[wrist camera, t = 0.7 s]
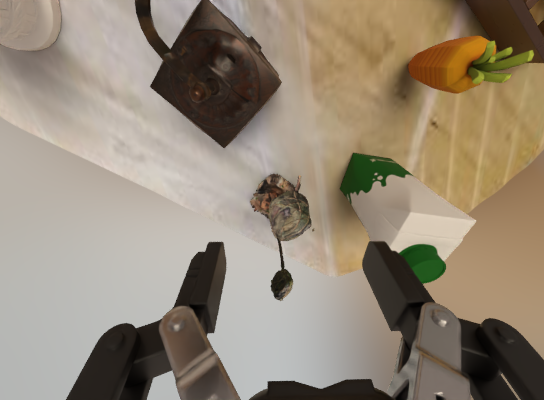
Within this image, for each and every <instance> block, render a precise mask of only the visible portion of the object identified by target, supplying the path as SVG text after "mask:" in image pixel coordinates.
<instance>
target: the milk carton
mask: <svg viewBox="0 0 544 400" xmlns="http://www.w3.org/2000/svg"><path fill="white" fill-rule="evenodd" d="M340 190H341V191H342V192H343V194H344V195H345V196H346V198H347V199H348V200H349V202H350V204H351V205H352V207H353V209H354V210H355V212H356V214H357V215H358V217H359V219H360V221H361V222H362V224H363V226H364V227H365V229H366V231H367V233H368V235H369V238H370V240H371V241H385V242H386V243H387V244H388V246H389V247H390V249H391V250H392V251H396V252H398V253H399V254H400V255H401V256H403V257H404V258H405V260H406V261H407V263H408V264H409V266H410V268H412V270H413V271H414V273H415V275H416V276H417V277H418V278H419V280H420V281H421V283H422V284H424V283H428V282H431V281H434V280H436V279H437V278H439V277H440V276H441V275H442V274H443V273H444V272H445V270H446V264H445V263H444V261H445V260H446V258H447V257H448V256H449V255H450V254H451V253H452V252H453V250H454V249H455V248H456V247H457V246H459V244H460V243H461V242H462V240H463V239H462V238H463V237H464V236H465V234H466V233H467V232H468V231H469V230H470V228H471V227H472V226H473V225H474V224H475V222H476V220H474V219H473V218H471V217H470V216H468V215H467V214H465V213H464V212H462V211H461V210H459V209H458V208H456V207H455V206H453V205H452V204H450V203H449V202H448V201H446V200H445V199H443V198H442V197H440V196H439V195H437V194H436V193H435V192H433V191H432V190H431V189H430V188H428V187H427V186H426V185H424V184H423V183H422V182H421V181H419V180H418V179H417V178H416V177H414V176H413V175H412V174H410V173H409V172H408V171H407V170H405V169H404V168H403V167H401V166H400V165H399V164H398V163H396V162H395V161H393V160H392V159H389V158H383V157H376V156H370V155H364V154H357V153H353V155H352V158H351V160H350V163H349V166H348V168H347V171H346V173H345V176H344V179H343V181H342V184H341V187H340Z"/></svg>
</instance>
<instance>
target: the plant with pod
mask: <svg viewBox="0 0 544 400" xmlns="http://www.w3.org/2000/svg"><path fill="white" fill-rule="evenodd" d="M281 177H282V176H280V175H278V174H276V175H275V174H272V175H270V176H269V177H267V179H265V180H264V181H262V183H261V184H259V187H258V189H257V190H256V191H257V193H255V194H253V195H254V198H252V199H251V201H250V202H251V205H253V206H252V208H255V210H254V212H255V211H256V210H257V212H258V211H260V212H261V214H263V215H265V217H267V218H269V219H270V223H271V229H272V232H273V234H274V236H275V238H277V240H278V243H279V251H280V257H281V268H282V269H281V271H278V272H277V273H276V274H275V276H274V278H273V280H271V283H272V284H271V290H272V292H273V293H274V297H275V298H276V299H277V300H280V301H281V300H283V298H284V297H286V296H287V295H288V294H289V292H290V291H291V289H292V285H293V279H292V277H291V274H290V273H289V272H288V271H287V270H286V269H284V261H283V256H282V254H283V253H282V247H281V243H280V241H289V240H292V239H295V238H297V237H298V236H300V235H301V234H303V233H304V231H306V230H307V229H308V228H310V227H311V219H310V215H309V205H308V201H307V199H306V197H305V196H303V195H302V194H300V193H298V190H299V188H300V186H301V185H300V178H301V176H299V177H298V182H297V185H296V188H295V187H294V186H293V185H291V183H289V181H286V179H284V178H283V177H282V178H281ZM307 205H308V206H307ZM312 231H314V229H312Z"/></svg>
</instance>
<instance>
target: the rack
mask: <svg viewBox="0 0 544 400" xmlns="http://www.w3.org/2000/svg"><path fill="white" fill-rule="evenodd" d="M465 1H466V2H467V4H468V5H469V7H470V8H471V10H472V11H473V13H474V14H475V16H476V17H477V19H478V20H479V22H480V23H481V25H482V26H483V28H484V29H485V31H486V32H487V33H488V35H489V36H490V38H491V39H492V41H495V45H496V47H497V48H498V50H499V51H502V50H504V49H506V48H510V47H512V49H513V51H512V53H511V54H510V55H509V56H507V57H505V58H504V59H508V58H510V57H513V56H516V55H519V54H522V53H525V52H527V51H531V50H533V53H534V56H533V58H532V60H531V61H529V62H527V63H544V21H543V22H542V23H541V24H540V25H539V26H537V24H536V22H535V21H534V19H533V17H532V15H531V14H530V12H529V9H530V8H531V7H532V6H534V5H535V4H536V3H537V2H538V1H539V0H465Z"/></svg>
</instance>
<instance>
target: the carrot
mask: <svg viewBox="0 0 544 400" xmlns="http://www.w3.org/2000/svg"><path fill="white" fill-rule="evenodd" d="M512 51H513V49H512V47H510V48H506V49H504V50H502V51H500V52H498V53H496V45H495V41H488V40H487V39H485V38H483V37H481V36H471V37H464V38H459V39H454V40H449V41H446V42H443V43H440V44H438V45H435V46H433V47H431V48H428V49H426V50H424V51H422V52H420V53H418V54H417V55H415V56H414V57H413V58H412V60H411V61H410V63H409V64H408V68H409V73H410V75H411V77H413V78H414V79H416V80H418V81H420V82H422V83H424V84H426V85H428V86H430V87H432V88H434V89H438V90H442V91H446V92H450V93H461V92H464V91H466V90H468V89H471V88H473V87H475V86H478V85H480V84H481V82H482V81H483V80H484V81H489V82H499V83H502V82H505V81H507V80H508V79H509V78H510V77H511V75H512V74H506V73H491V71H498V70H503V69H507V68H511V67H514V66H518V65H521V64H524V63H527V62H529V61H531V60H532V58H533V56H534V53H533V50H531V51H527V52H525V53H522V54H519V55H516V56H513V57H510V58H508V59H505V60H502V61H499V62H496V61H498V60H500V59H502V58H505V57H507V56H509V55H510V54H511V53H512Z"/></svg>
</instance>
